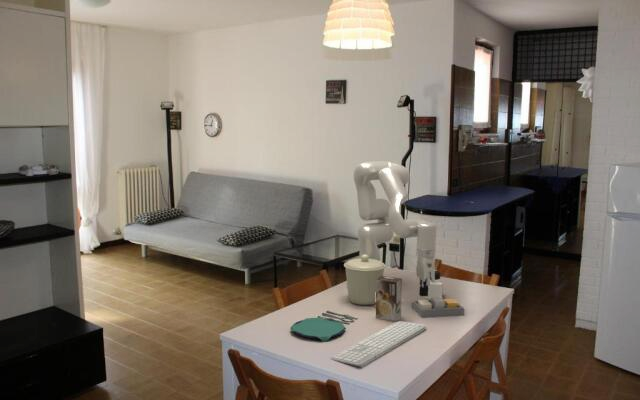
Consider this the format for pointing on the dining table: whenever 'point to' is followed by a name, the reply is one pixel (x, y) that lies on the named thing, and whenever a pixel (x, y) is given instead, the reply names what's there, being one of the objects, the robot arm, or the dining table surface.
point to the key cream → (424, 304)
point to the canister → (363, 279)
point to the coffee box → (388, 298)
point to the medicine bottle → (435, 287)
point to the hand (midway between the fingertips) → (423, 295)
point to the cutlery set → (321, 326)
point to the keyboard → (378, 343)
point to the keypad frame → (437, 310)
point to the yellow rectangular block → (450, 303)
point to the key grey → (437, 302)
